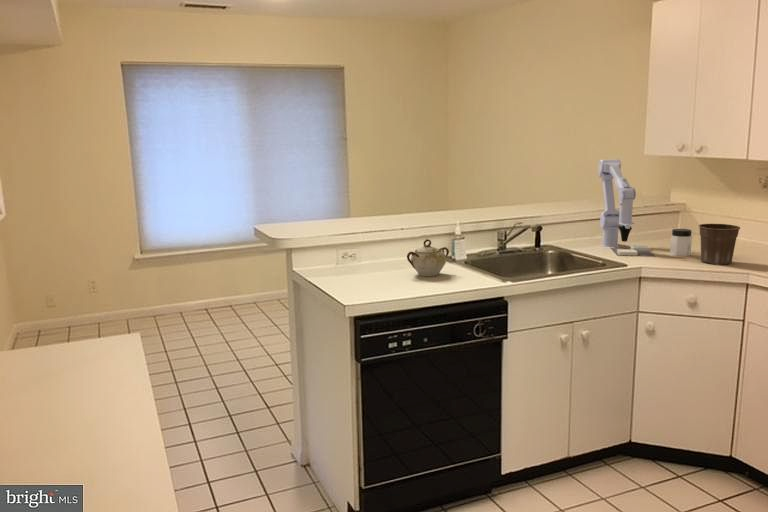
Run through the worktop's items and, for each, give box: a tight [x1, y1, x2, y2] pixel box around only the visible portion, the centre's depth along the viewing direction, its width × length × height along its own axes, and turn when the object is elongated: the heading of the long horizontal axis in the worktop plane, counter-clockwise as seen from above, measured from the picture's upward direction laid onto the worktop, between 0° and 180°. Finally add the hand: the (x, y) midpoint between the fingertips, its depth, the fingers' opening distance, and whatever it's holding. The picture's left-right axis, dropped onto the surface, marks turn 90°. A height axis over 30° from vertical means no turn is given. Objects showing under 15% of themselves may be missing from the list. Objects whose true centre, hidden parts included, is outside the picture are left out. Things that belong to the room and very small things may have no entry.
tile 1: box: [617, 249, 639, 257], centre depth 301 cm, size 2×8×7 cm
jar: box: [669, 228, 693, 257], centre depth 298 cm, size 9×8×12 cm
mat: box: [610, 247, 657, 258], centre depth 306 cm, size 22×17×1 cm
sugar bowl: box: [406, 238, 450, 277], centre depth 267 cm, size 20×15×15 cm
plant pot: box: [698, 223, 741, 265], centre depth 280 cm, size 16×16×16 cm
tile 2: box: [629, 245, 651, 252], centre depth 311 cm, size 7×8×2 cm
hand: (624, 241), depth 308 cm, fingers closed
